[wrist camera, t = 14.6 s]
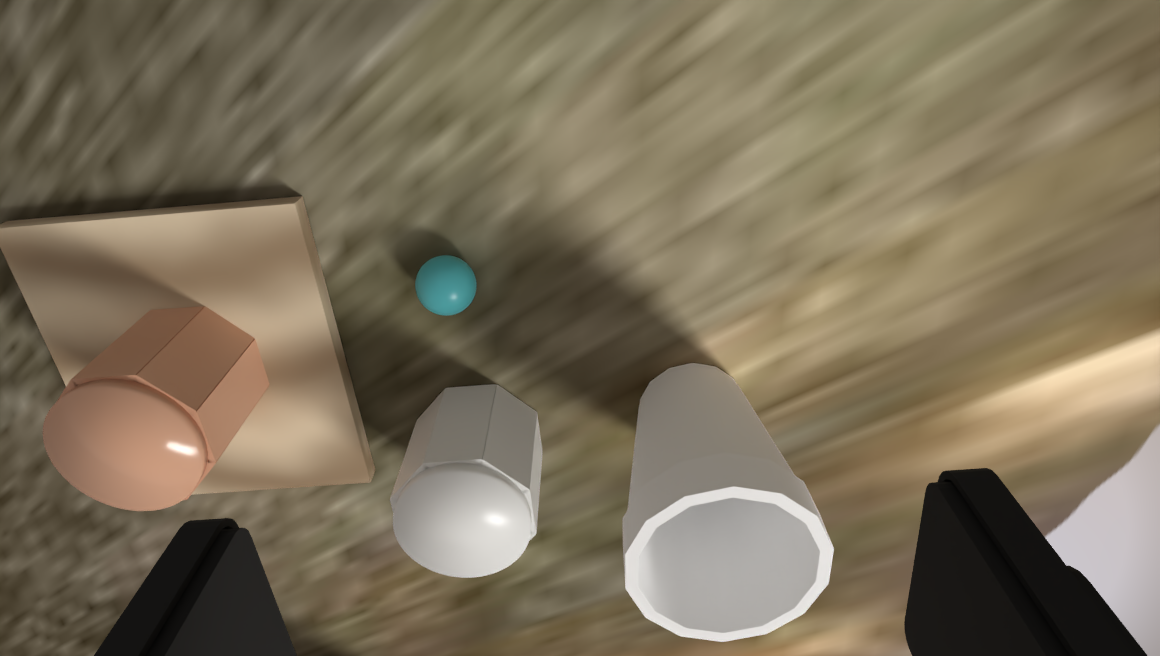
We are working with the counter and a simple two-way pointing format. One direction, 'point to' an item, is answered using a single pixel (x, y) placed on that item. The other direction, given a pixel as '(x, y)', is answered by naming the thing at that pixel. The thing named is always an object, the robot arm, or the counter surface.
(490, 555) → the white domed cap nut
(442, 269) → the marble
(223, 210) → the oak board
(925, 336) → the counter surface
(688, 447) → the foam cup
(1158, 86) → the counter surface
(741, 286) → the counter surface
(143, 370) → the pink acorn nut
